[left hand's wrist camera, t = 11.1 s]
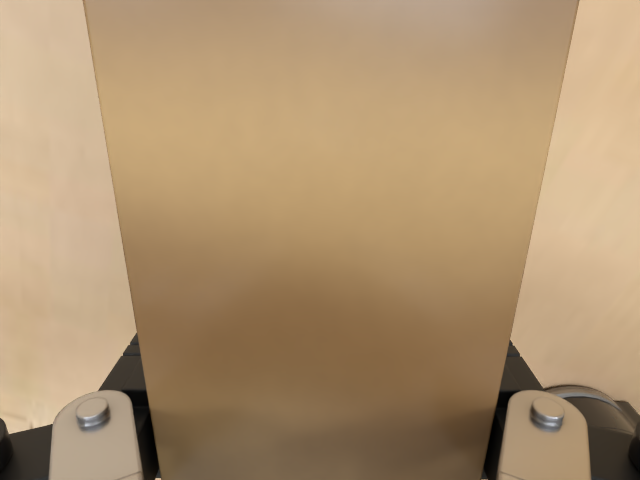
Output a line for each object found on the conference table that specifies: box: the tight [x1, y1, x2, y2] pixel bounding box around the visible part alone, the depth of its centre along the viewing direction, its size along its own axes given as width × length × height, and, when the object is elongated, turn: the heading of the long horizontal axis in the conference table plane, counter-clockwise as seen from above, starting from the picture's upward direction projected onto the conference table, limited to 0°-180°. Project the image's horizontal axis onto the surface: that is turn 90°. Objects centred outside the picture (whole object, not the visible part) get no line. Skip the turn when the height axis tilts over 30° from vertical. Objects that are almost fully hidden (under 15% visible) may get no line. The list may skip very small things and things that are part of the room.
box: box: [83, 0, 579, 480], centre depth 10 cm, size 20×6×9 cm, turn 179°
